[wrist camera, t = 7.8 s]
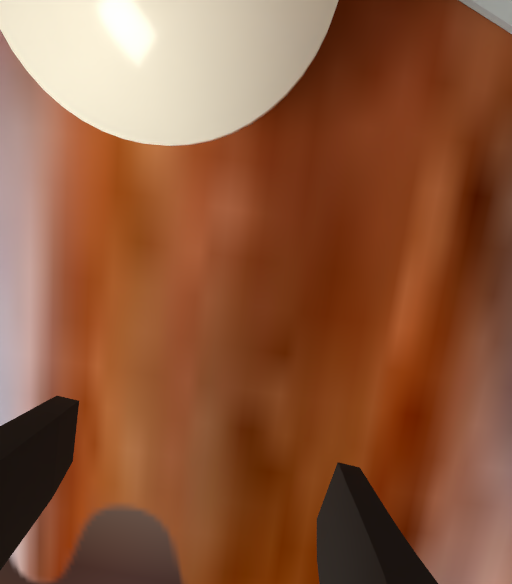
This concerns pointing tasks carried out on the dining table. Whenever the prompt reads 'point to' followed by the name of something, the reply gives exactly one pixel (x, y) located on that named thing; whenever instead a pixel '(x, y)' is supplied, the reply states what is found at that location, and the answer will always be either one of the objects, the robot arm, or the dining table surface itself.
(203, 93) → the lid
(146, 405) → the dining table surface
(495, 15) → the mat
